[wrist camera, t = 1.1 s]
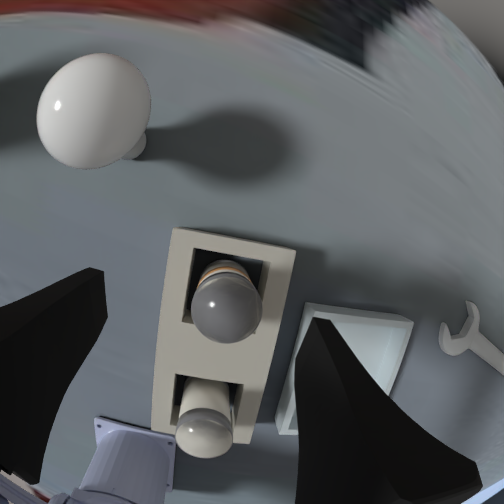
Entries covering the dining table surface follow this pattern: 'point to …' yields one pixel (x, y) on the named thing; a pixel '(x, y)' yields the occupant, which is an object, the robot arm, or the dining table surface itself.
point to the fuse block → (210, 352)
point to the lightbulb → (94, 112)
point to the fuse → (204, 418)
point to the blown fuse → (226, 303)
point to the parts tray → (360, 342)
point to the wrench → (471, 340)
